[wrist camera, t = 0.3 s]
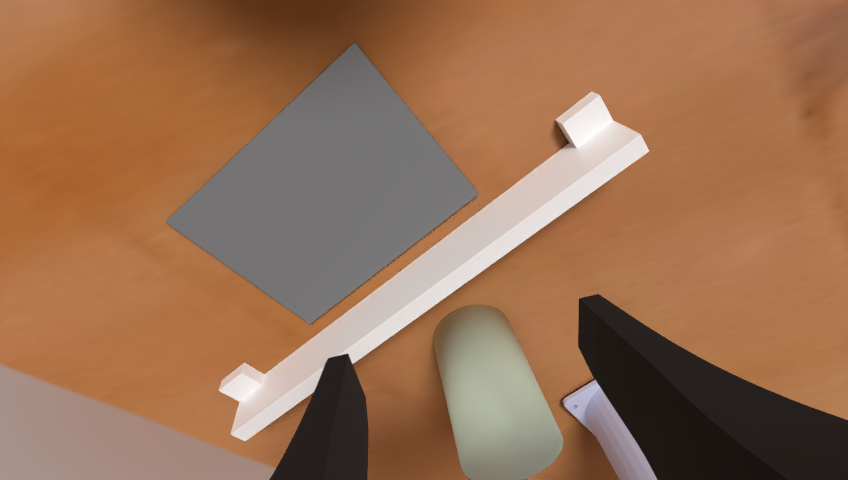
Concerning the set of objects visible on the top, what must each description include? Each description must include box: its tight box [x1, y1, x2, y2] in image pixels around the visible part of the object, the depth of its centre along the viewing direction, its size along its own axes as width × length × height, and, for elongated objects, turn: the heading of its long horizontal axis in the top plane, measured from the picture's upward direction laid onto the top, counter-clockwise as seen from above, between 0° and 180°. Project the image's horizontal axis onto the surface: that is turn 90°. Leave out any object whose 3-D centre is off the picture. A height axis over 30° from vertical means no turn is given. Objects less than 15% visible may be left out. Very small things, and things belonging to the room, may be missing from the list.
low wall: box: [219, 92, 649, 441], centre depth 22 cm, size 4×26×3 cm, turn 129°
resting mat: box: [166, 42, 478, 324], centre depth 20 cm, size 9×12×1 cm
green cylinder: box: [433, 305, 563, 480], centre depth 23 cm, size 5×5×8 cm
